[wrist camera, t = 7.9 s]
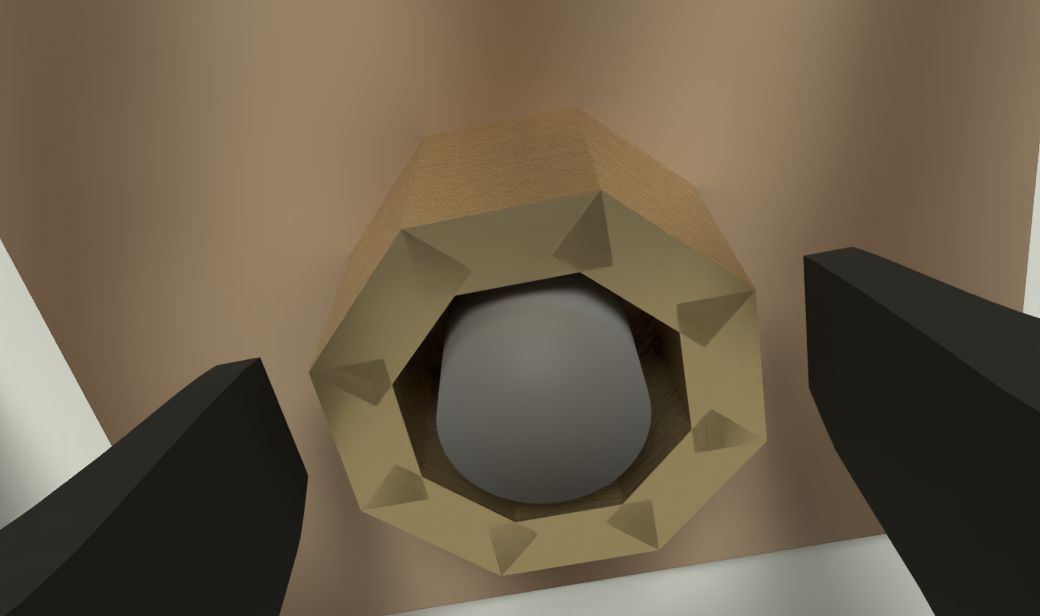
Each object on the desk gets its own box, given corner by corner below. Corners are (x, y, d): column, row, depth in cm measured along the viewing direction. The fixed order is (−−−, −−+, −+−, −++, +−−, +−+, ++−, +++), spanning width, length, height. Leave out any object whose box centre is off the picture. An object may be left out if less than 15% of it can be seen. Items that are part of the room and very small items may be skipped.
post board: (1042, -361, 11) (1417, -504, 6) (977, 481, 17) (1139, 695, 13) (-124, -89, 12) (-485, -53, 8) (230, 604, 19) (148, 839, 14)
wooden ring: (683, 83, 12) (745, 160, 9) (716, 390, 15) (773, 530, 12) (319, 157, 13) (264, 255, 10) (413, 444, 15) (392, 594, 12)
